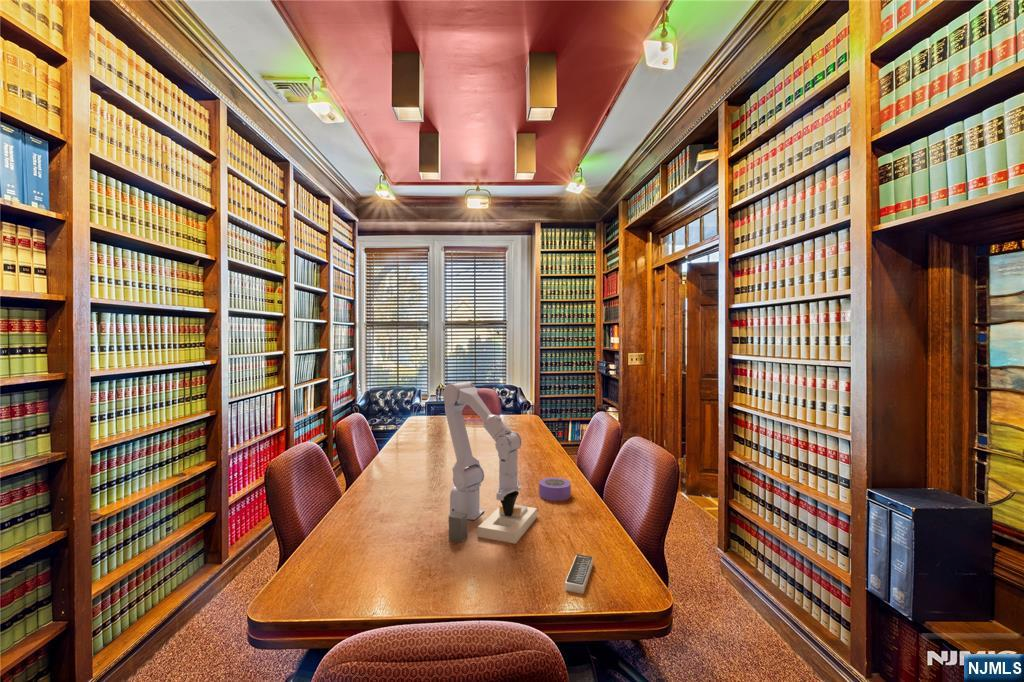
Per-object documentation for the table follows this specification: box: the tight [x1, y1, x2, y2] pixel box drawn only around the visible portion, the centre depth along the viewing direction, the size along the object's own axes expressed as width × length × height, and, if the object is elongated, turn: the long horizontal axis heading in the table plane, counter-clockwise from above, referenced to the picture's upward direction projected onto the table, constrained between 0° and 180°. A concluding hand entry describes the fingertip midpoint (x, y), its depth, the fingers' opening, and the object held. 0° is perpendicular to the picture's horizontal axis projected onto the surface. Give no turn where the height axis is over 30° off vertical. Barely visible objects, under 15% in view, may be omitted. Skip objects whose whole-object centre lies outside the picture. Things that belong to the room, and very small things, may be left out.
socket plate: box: [477, 506, 538, 544], centre depth 141 cm, size 12×20×3 cm, turn 159°
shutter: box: [498, 504, 528, 518], centre depth 144 cm, size 7×7×3 cm
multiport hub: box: [564, 554, 594, 594], centre depth 112 cm, size 4×14×2 cm, turn 161°
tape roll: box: [538, 477, 572, 502], centre depth 168 cm, size 12×12×5 cm
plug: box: [448, 512, 468, 544], centre depth 132 cm, size 4×4×7 cm
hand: (508, 515), depth 140 cm, fingers closed
